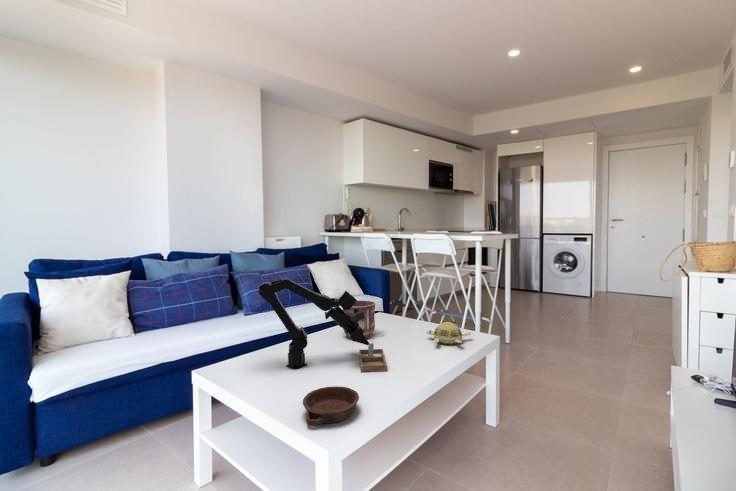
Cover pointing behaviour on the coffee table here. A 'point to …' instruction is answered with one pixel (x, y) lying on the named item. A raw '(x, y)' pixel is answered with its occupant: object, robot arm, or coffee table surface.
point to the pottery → (369, 312)
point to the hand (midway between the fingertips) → (366, 341)
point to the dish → (330, 404)
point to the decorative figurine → (447, 333)
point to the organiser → (373, 361)
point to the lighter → (370, 349)
